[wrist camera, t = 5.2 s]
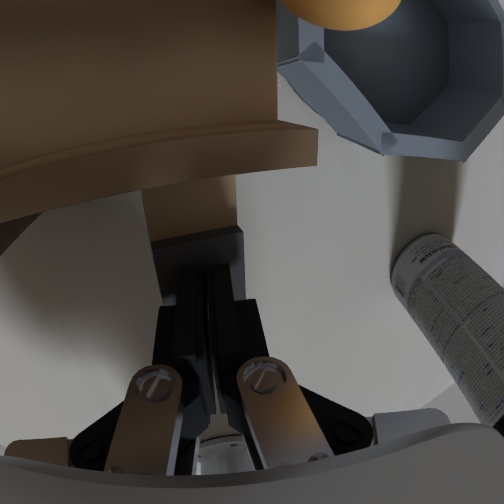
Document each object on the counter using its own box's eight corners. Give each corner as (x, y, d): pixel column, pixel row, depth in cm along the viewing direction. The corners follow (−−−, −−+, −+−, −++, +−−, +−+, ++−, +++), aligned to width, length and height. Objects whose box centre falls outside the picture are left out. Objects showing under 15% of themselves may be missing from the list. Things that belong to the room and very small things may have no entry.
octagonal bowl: (445, 143, 18) (504, 168, 13) (268, 133, 17) (296, 154, 12) (444, -19, 12) (502, -30, 7) (263, -65, 11) (287, -114, 5)
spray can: (420, 305, 26) (534, 478, 9) (372, 287, 24) (504, 510, 7) (460, 246, 23) (606, 407, 6) (417, 218, 21) (606, 420, 4)
